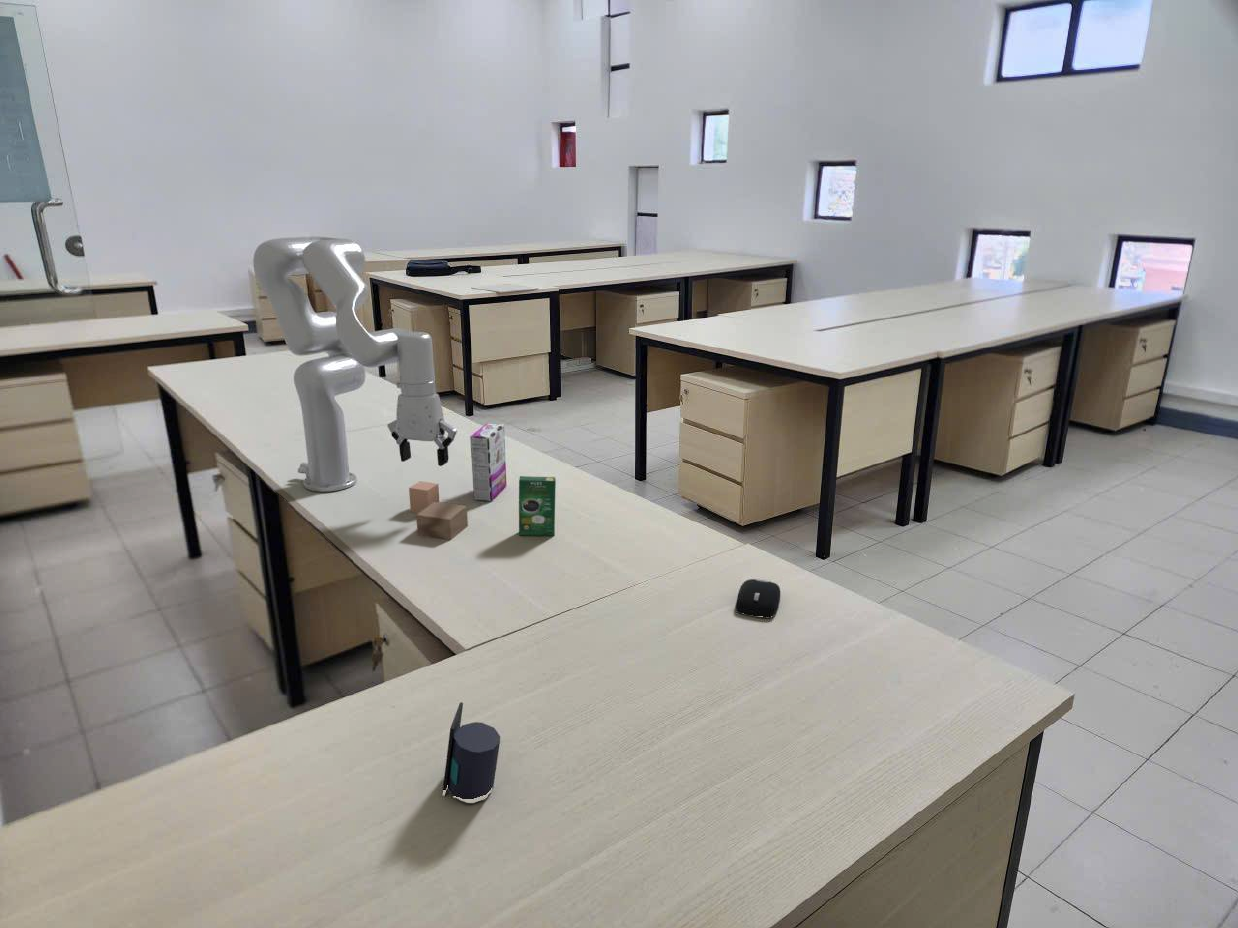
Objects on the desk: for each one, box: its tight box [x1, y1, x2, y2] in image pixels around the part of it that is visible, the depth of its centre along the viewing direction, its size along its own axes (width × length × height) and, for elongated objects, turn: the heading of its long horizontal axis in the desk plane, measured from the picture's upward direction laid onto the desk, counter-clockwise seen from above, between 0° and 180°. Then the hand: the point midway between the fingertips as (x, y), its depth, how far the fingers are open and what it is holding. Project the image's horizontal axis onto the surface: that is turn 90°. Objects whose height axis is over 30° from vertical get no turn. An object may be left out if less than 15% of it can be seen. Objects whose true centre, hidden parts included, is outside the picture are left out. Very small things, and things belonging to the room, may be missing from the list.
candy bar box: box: [470, 422, 507, 502], centre depth 199 cm, size 11×5×16 cm, turn 168°
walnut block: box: [415, 501, 469, 541], centre depth 179 cm, size 8×8×5 cm
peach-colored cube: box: [408, 481, 440, 514], centre depth 190 cm, size 5×5×6 cm
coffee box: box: [518, 475, 557, 537], centre depth 177 cm, size 8×3×13 cm, turn 92°
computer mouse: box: [735, 578, 781, 617], centre depth 152 cm, size 8×12×4 cm, turn 161°
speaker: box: [442, 702, 501, 799], centre depth 103 cm, size 8×6×10 cm
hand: (424, 462), depth 187 cm, fingers open, 9 cm apart
